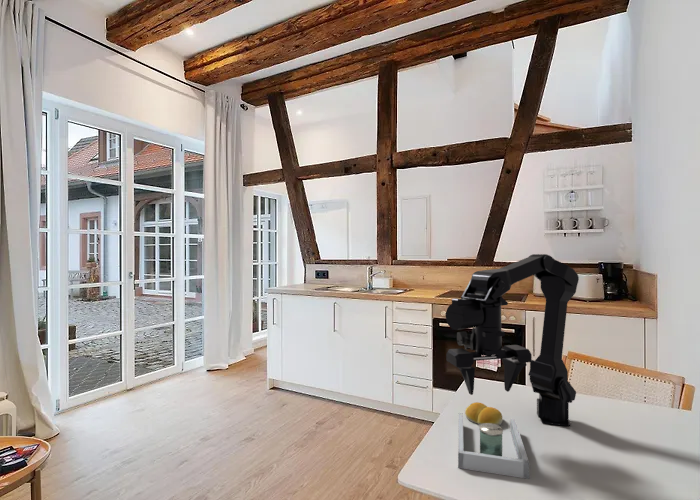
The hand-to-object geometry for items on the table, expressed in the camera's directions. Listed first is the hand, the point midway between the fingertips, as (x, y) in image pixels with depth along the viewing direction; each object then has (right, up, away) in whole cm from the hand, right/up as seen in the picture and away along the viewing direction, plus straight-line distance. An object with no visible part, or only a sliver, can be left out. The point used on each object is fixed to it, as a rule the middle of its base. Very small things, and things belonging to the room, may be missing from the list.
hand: (489, 392), depth 89 cm
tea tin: (-3, -11, -8) cm, 14 cm away
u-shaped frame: (-2, -11, -5) cm, 12 cm away
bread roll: (+2, -11, +10) cm, 15 cm away
